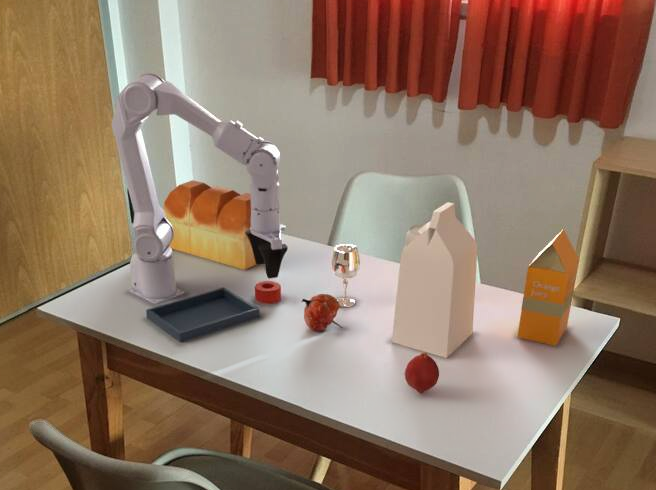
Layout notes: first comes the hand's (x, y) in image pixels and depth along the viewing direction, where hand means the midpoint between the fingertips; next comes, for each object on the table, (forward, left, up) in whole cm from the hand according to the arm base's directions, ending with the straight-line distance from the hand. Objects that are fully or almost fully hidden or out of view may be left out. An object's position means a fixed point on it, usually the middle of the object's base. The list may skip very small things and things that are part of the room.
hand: (266, 270), depth 171 cm
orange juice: (+50, +28, -7) cm, 57 cm away
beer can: (+22, +24, -7) cm, 33 cm away
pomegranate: (+18, -1, -7) cm, 19 cm away
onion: (+47, -7, -7) cm, 48 cm away
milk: (+36, +11, -7) cm, 38 cm away
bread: (-28, +12, -7) cm, 32 cm away
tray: (-2, -15, -7) cm, 17 cm away
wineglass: (+13, +11, -7) cm, 18 cm away
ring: (0, 0, -7) cm, 7 cm away
